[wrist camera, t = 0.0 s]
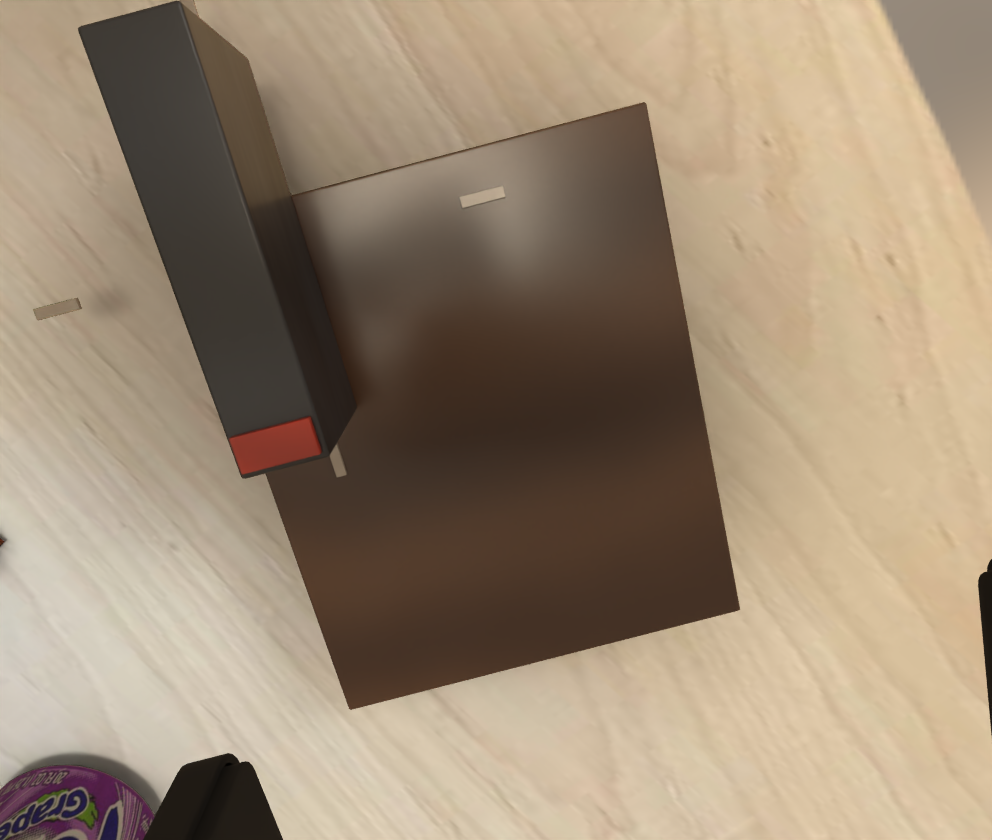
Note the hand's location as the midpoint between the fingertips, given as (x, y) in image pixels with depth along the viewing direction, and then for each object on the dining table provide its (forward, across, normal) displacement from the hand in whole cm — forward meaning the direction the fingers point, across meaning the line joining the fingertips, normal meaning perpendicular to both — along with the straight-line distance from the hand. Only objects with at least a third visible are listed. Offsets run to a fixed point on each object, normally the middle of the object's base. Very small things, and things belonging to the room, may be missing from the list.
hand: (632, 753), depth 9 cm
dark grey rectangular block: (+16, +6, -7) cm, 19 cm away
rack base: (+19, +4, -3) cm, 20 cm away
